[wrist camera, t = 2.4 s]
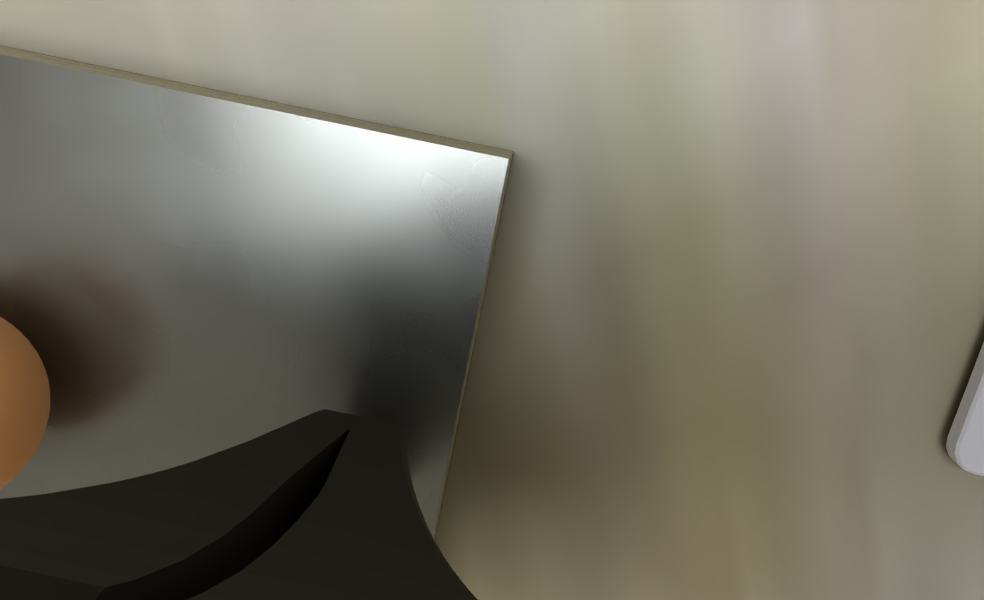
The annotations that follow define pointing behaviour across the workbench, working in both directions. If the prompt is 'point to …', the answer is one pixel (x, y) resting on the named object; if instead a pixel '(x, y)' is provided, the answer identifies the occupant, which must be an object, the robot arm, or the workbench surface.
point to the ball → (20, 401)
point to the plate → (232, 270)
